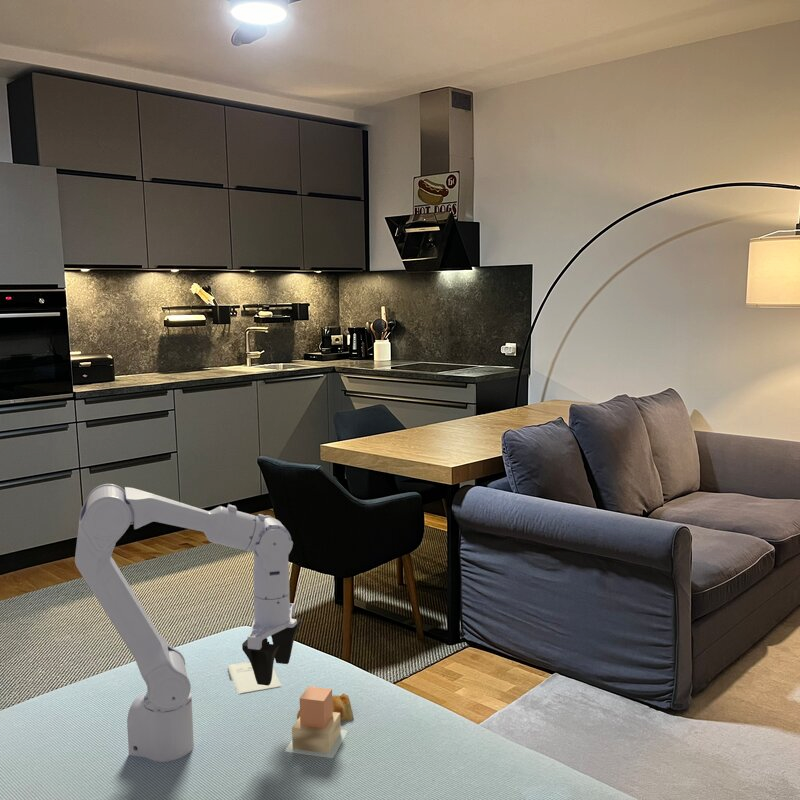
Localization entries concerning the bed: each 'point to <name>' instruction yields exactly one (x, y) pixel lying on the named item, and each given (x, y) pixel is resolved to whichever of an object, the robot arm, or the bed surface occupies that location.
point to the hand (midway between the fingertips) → (273, 673)
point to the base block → (316, 735)
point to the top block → (316, 707)
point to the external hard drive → (249, 678)
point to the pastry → (340, 707)
